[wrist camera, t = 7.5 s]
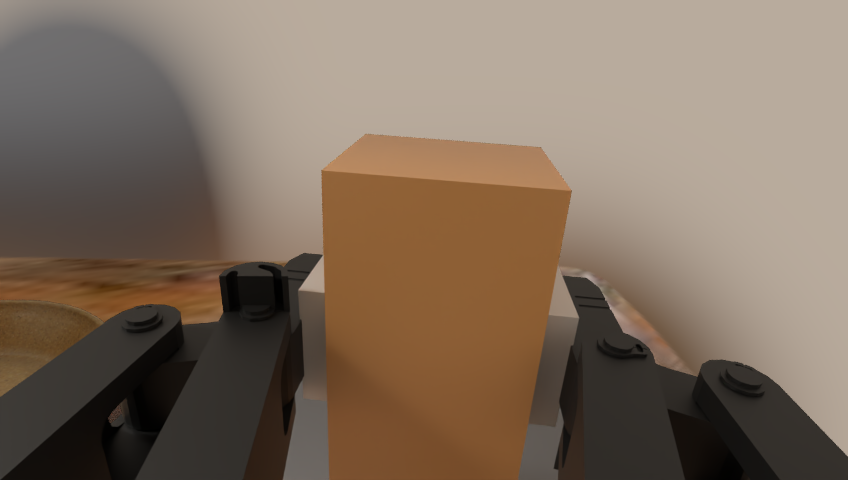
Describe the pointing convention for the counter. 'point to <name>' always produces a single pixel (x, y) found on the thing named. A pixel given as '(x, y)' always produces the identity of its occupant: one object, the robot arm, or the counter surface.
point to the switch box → (311, 453)
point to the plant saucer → (37, 336)
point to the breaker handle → (436, 304)
